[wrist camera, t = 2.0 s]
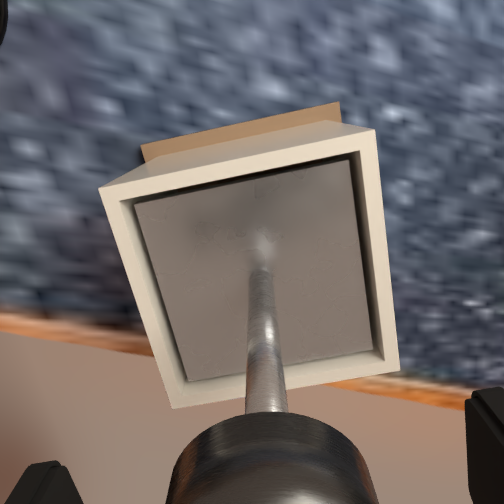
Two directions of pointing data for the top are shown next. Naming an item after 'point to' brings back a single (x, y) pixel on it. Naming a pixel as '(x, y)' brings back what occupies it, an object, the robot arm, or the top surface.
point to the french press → (3, 18)
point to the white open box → (240, 167)
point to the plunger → (263, 327)
